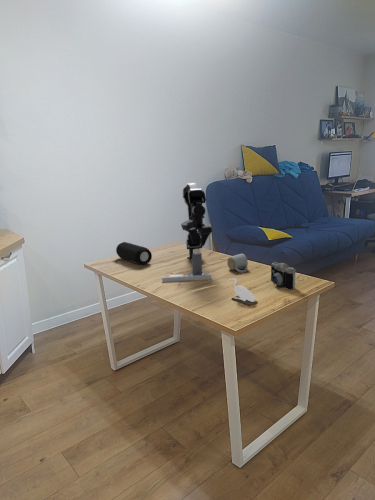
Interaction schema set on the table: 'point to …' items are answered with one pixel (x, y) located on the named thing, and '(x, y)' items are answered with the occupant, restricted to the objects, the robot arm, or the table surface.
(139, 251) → the portable speaker
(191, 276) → the white tray
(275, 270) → the camera
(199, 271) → the grey upright cylinder
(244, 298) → the figurine
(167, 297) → the table surface
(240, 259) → the ceramic mug
